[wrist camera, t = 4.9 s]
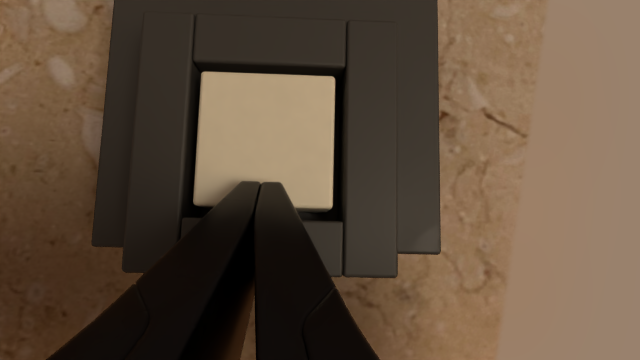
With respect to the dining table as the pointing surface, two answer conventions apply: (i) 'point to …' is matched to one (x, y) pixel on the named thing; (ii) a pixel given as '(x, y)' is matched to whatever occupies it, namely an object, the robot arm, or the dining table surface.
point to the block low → (289, 59)
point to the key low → (266, 136)
